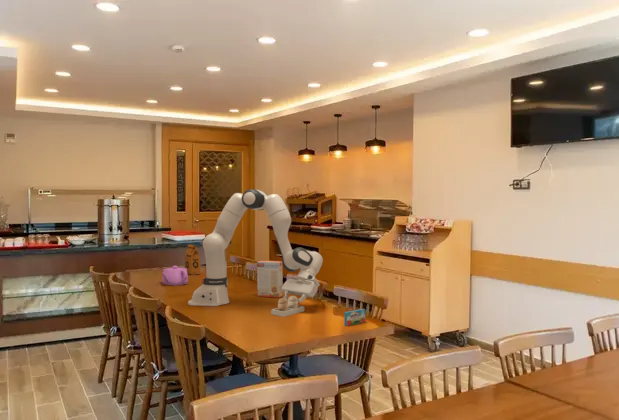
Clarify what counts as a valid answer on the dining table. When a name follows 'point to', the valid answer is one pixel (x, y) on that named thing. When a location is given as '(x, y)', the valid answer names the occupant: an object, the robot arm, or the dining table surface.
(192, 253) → the coffee package
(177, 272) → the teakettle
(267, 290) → the cracker box
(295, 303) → the cream egg
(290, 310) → the carton
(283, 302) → the brown egg
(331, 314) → the dining table surface
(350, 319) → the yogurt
